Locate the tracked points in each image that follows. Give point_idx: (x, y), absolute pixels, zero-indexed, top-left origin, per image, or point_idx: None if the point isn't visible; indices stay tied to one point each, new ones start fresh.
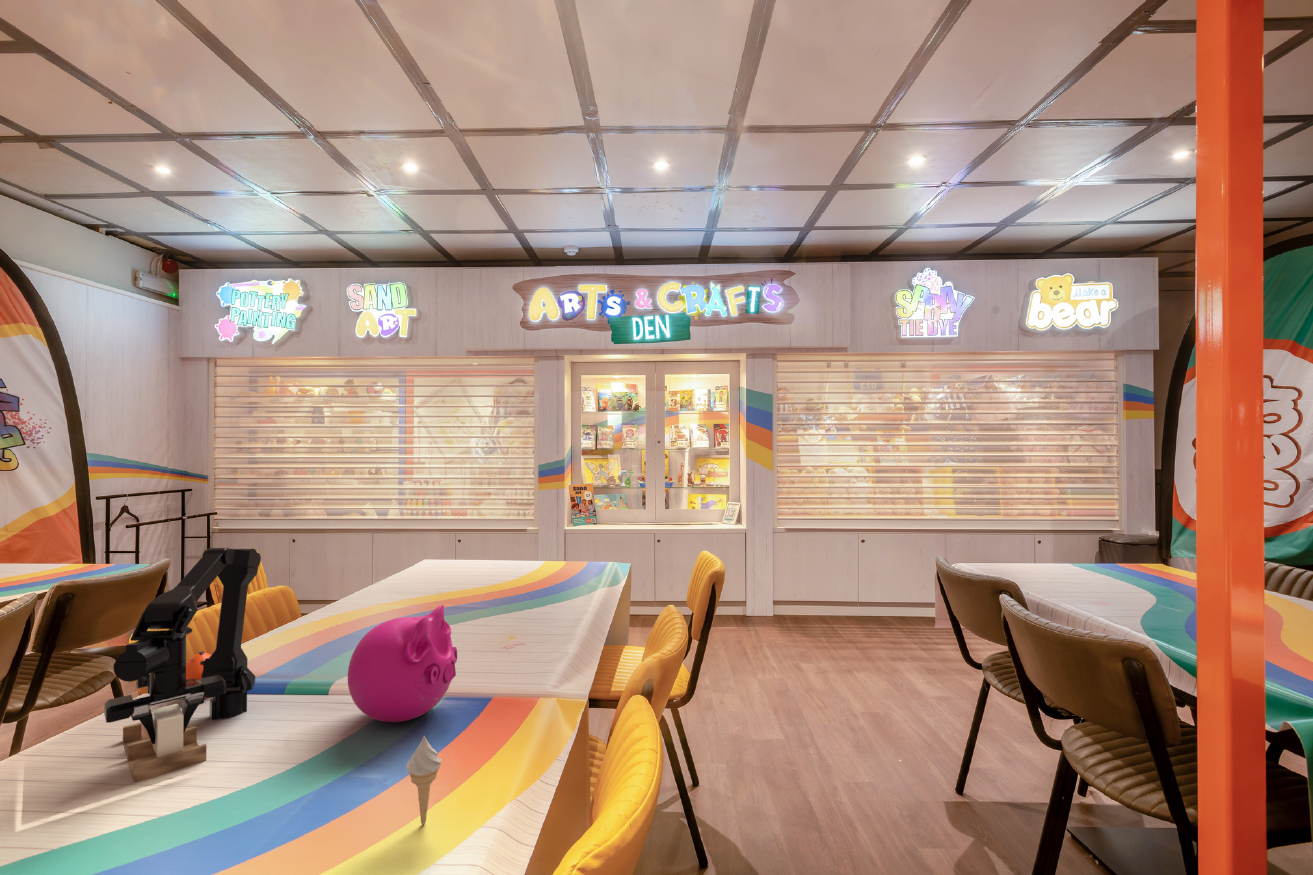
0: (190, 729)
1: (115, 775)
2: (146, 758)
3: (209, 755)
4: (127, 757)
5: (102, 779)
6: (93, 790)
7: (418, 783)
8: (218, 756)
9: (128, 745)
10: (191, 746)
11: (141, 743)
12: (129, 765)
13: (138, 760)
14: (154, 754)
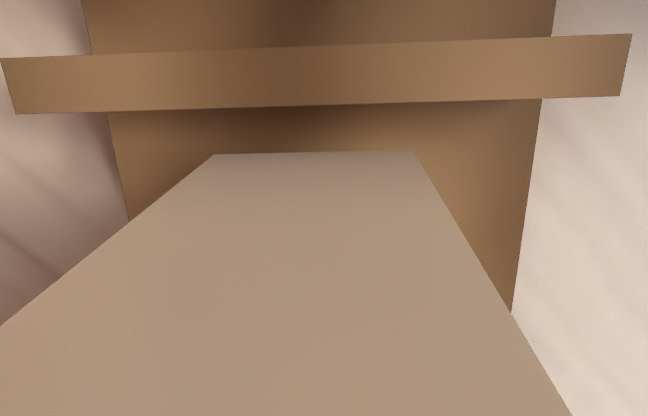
0: (555, 95)
1: (74, 203)
2: (211, 144)
3: (535, 312)
4: (84, 10)
5: (17, 206)
6: (10, 311)
7: None
8: (565, 359)
9: (12, 95)
10: (488, 157)
11: (122, 107)
12: (121, 181)
13: (165, 141)
14: (258, 107)
